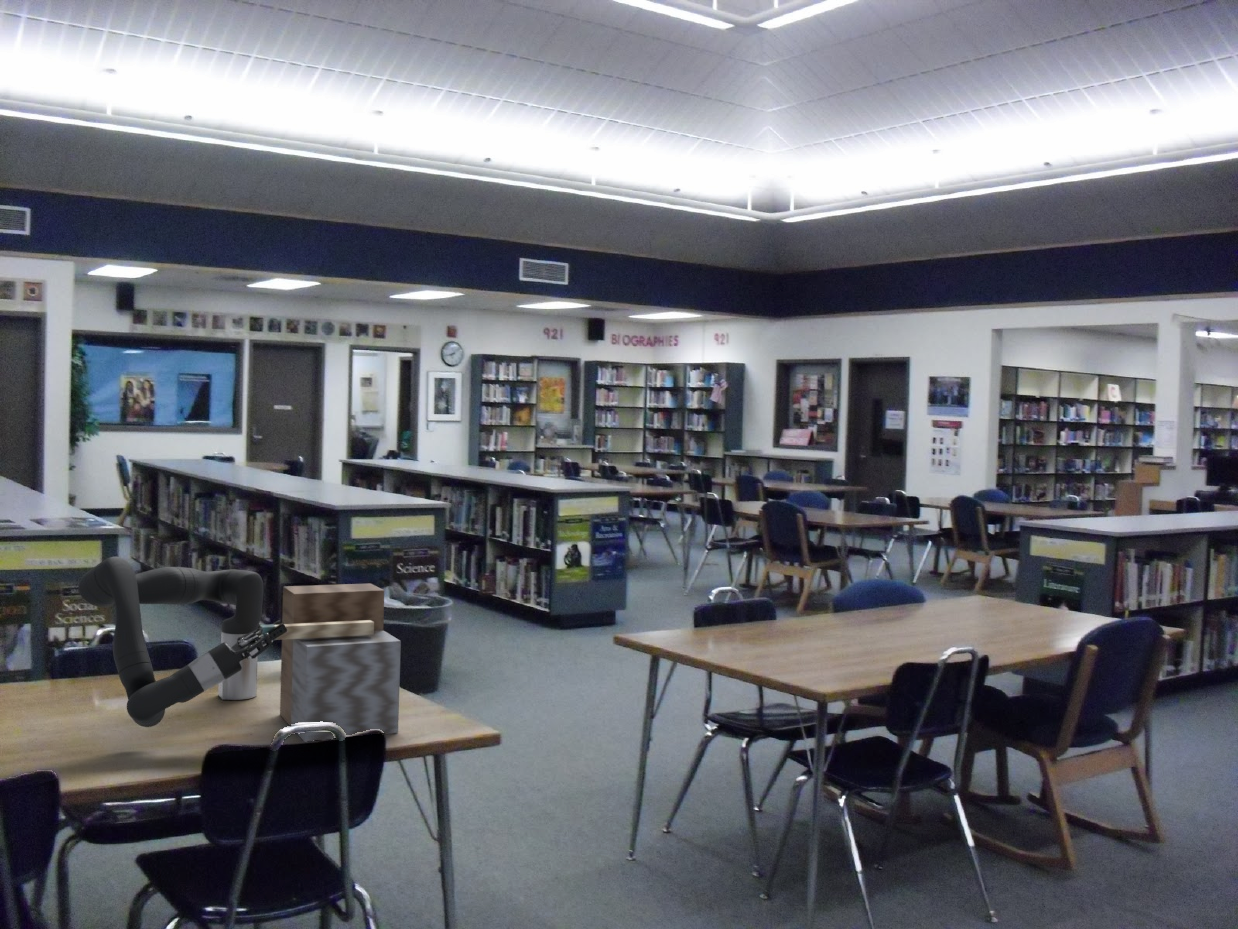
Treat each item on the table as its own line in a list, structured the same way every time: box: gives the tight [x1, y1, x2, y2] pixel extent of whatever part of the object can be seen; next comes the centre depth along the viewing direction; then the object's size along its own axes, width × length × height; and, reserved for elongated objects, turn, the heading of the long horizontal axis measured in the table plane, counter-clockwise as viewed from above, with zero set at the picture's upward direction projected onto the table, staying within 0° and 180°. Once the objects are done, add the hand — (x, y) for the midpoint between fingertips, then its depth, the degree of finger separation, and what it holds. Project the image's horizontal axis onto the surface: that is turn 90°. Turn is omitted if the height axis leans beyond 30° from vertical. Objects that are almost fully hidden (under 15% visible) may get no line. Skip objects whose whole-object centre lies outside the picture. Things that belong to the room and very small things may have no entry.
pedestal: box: [279, 582, 402, 743], centre depth 278 cm, size 22×26×32 cm
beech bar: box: [259, 620, 374, 641], centre depth 269 cm, size 26×3×3 cm, turn 119°
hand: (283, 625), depth 266 cm, fingers closed on beech bar, 3 cm apart
